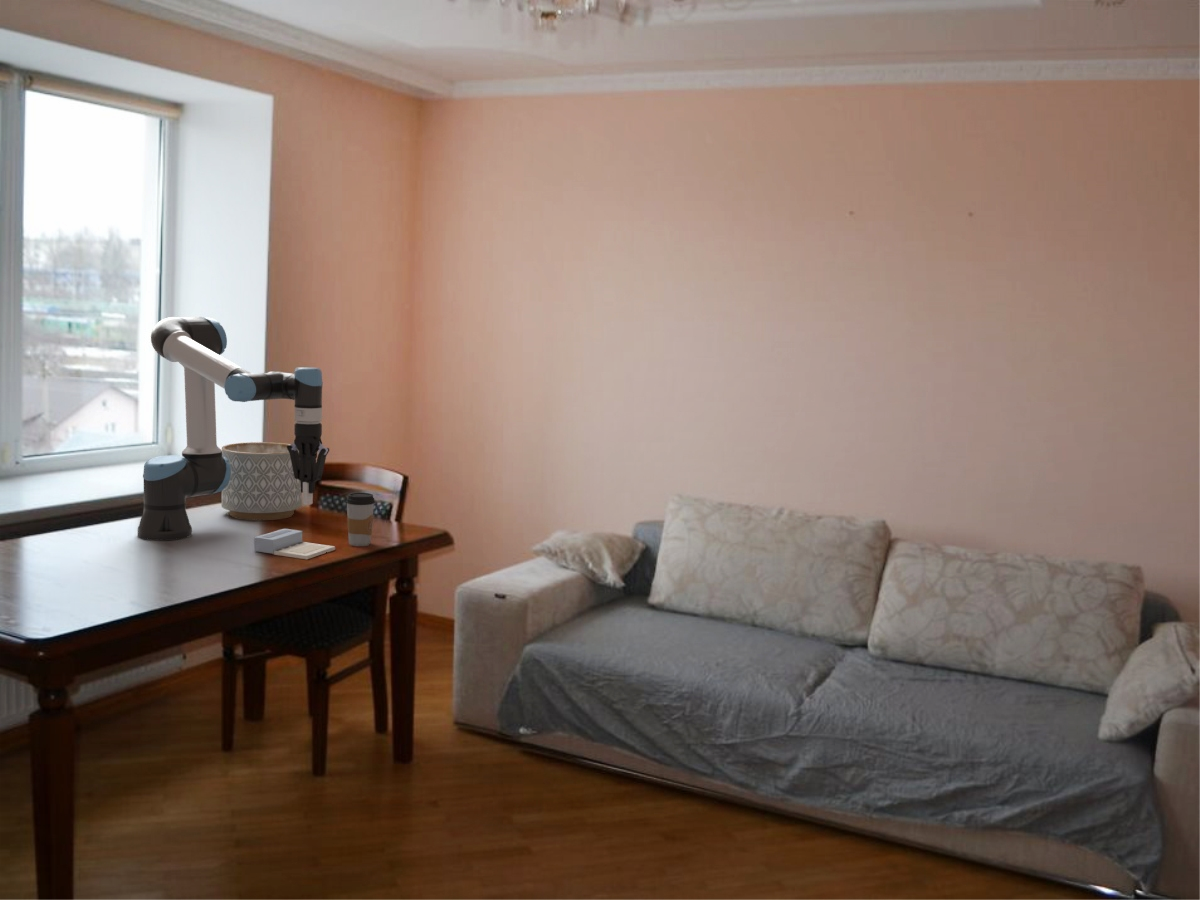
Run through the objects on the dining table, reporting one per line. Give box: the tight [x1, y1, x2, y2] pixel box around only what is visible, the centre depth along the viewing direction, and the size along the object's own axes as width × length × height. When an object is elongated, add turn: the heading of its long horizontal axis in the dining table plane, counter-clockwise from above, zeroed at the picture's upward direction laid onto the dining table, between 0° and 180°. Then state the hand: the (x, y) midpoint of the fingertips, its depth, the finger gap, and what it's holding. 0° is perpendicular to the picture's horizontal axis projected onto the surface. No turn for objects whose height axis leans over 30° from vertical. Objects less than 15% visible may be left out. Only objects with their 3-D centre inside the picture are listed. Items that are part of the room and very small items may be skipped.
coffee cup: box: [345, 492, 376, 547], centre depth 340 cm, size 8×8×15 cm
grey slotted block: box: [253, 528, 303, 555], centre depth 330 cm, size 6×14×4 cm, turn 160°
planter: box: [221, 441, 303, 521], centre depth 375 cm, size 26×26×22 cm
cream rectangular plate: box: [273, 541, 336, 560], centre depth 328 cm, size 11×14×1 cm
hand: (307, 504), depth 325 cm, fingers closed
